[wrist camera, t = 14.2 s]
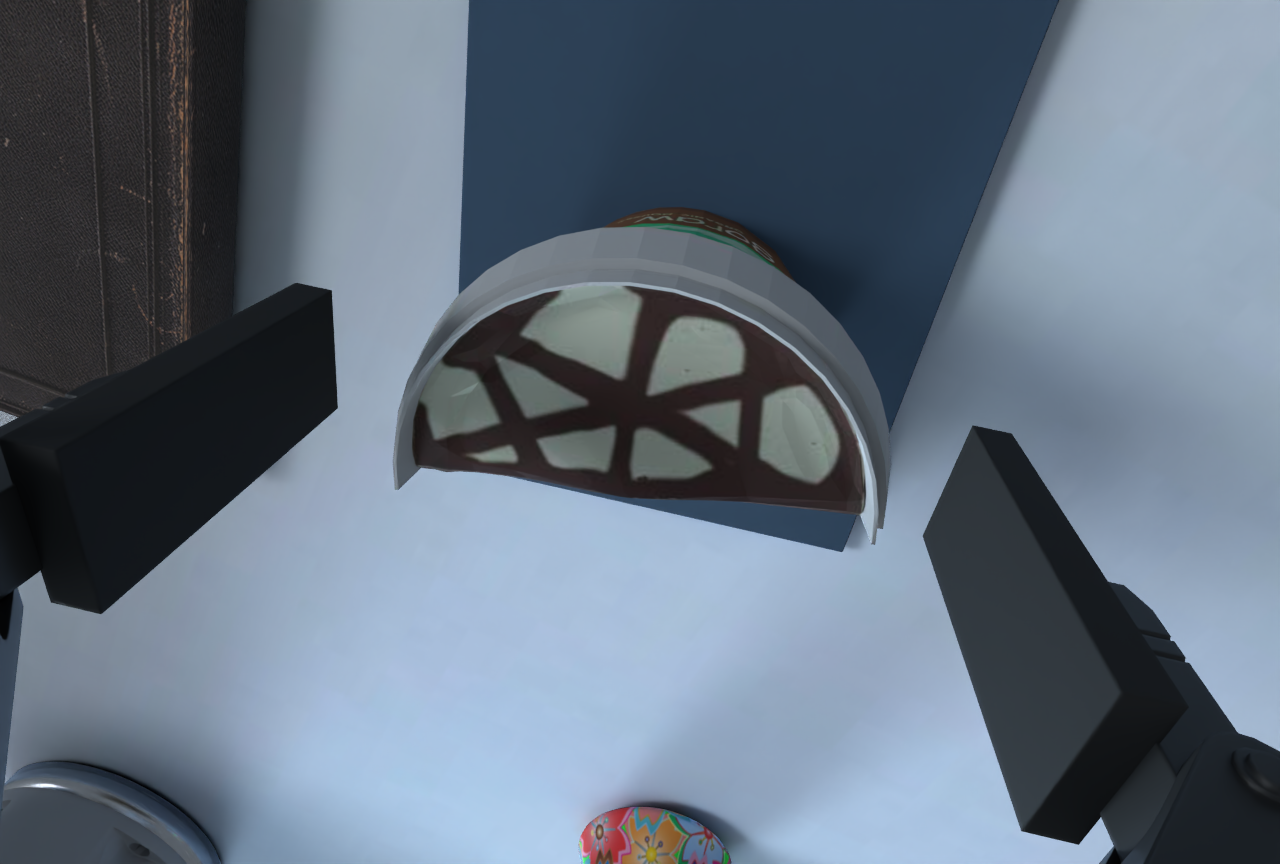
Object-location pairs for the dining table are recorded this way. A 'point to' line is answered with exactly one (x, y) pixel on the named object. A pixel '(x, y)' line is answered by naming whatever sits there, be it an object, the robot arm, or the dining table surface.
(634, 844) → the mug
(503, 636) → the dining table surface
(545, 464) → the food container
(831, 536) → the mat
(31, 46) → the hardcover book
